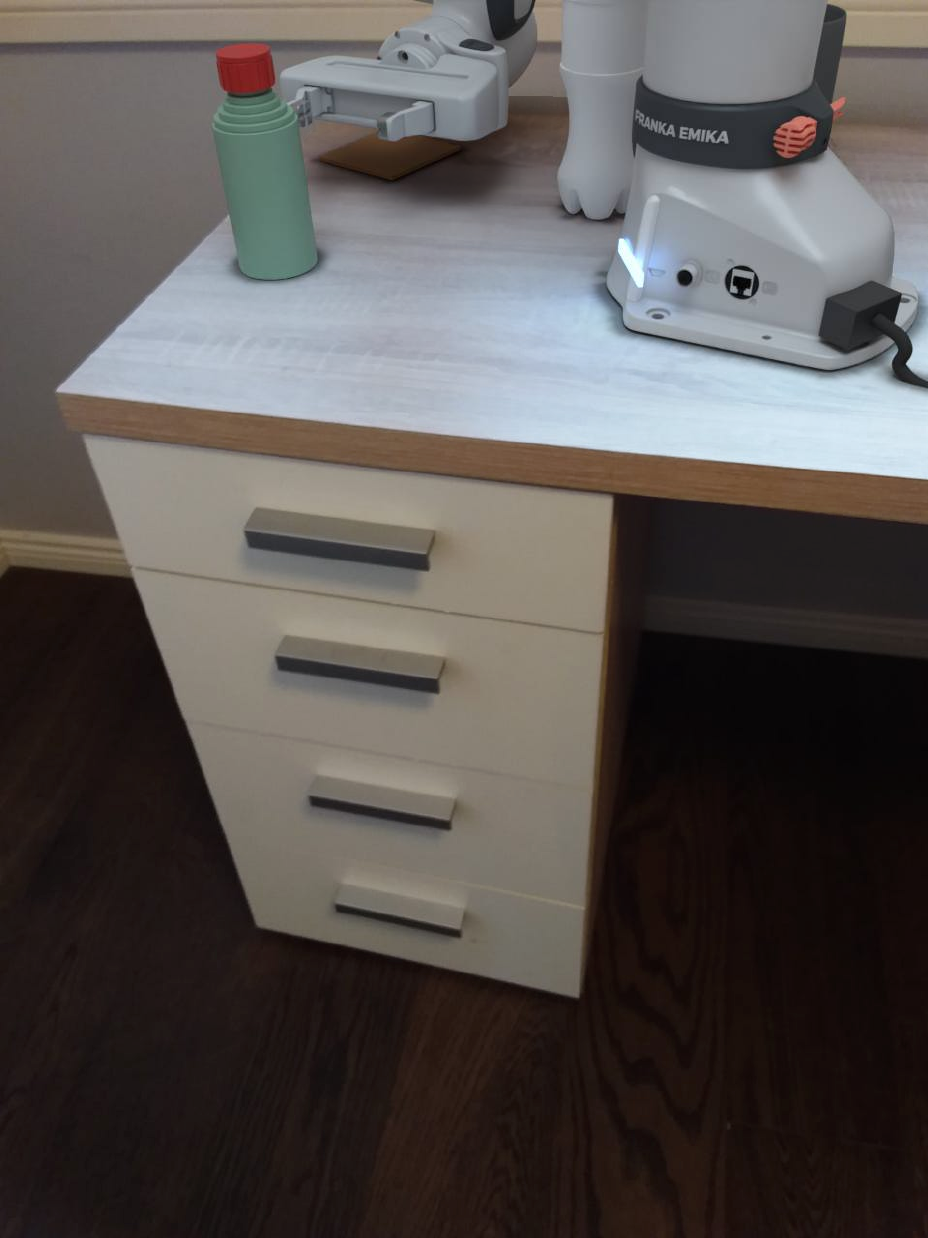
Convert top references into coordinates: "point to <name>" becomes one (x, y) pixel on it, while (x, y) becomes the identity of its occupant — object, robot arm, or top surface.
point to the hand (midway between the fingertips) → (337, 123)
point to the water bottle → (600, 101)
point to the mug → (830, 50)
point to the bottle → (265, 184)
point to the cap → (245, 68)
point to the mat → (389, 155)
